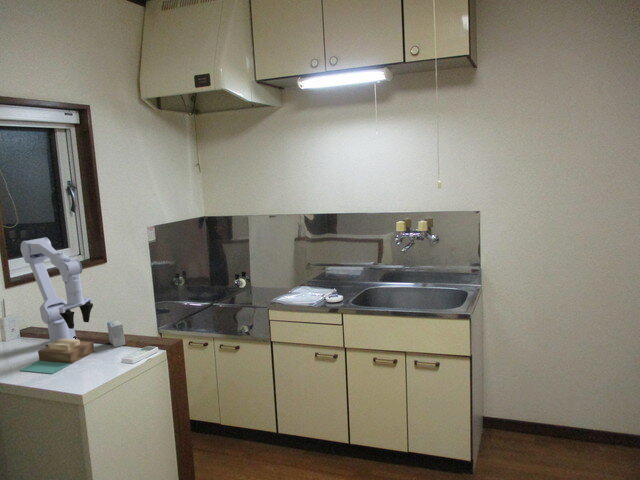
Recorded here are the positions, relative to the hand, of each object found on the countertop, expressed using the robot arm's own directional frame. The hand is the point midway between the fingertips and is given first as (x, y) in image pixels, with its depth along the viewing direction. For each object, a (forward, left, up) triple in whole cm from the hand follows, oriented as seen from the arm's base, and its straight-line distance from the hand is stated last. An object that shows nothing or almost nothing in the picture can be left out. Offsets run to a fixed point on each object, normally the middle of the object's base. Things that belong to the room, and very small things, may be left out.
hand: (79, 325), depth 205 cm
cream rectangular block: (+8, -1, -6) cm, 10 cm away
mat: (+18, -1, -10) cm, 20 cm away
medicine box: (-8, +10, -10) cm, 17 cm away
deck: (+7, -1, -10) cm, 12 cm away
